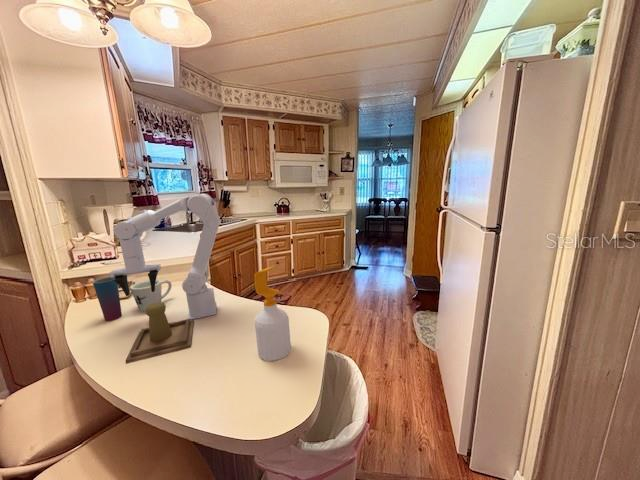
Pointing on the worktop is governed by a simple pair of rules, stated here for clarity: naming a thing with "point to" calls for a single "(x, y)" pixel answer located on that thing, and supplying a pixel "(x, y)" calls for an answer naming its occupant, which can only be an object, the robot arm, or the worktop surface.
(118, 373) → the worktop surface
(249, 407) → the worktop surface
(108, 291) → the cup
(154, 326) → the olive-green waisted figurine
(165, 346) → the spice tray
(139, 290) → the mug
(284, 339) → the soap bottle
